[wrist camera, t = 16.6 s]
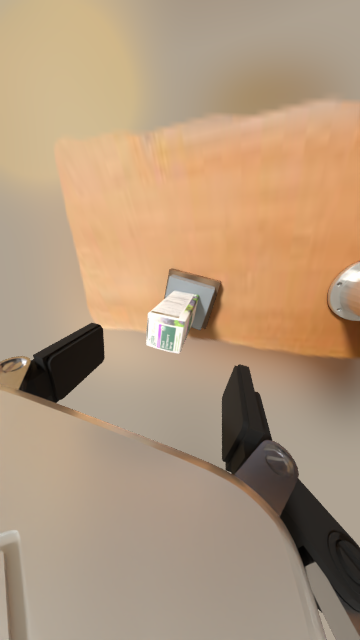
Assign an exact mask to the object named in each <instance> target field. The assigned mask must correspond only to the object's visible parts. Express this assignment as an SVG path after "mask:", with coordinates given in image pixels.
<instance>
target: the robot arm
mask: <svg viewBox="0 0 360 640" xmlns="http://www.w3.org/2000/svg"><path fill="white" fill-rule="evenodd" d="M328 304H329V307H330V308H331V310H332V311H333V312H334V313H335V314H337V315H338V316H340V317H342V318H344V319H347V320H351V321H360V261H359V262H356V263H354V264H352V265H351V266H349V267H347V268H346V269H345V270H343V271H342V272H341V273H340V274H339V275H338V276H337V277H336V278H335V280H334V281H333V283H332V284H331V286H330V288H329V291H328ZM33 357H34V359H33V360H30V358H28V357H25V356H18V357H12V358H8V359H5V360H3V361H1V362H0V640H327V639H326V636H325V632H324V629H323V626H322V622H321V619H320V616H319V612H318V609H319V610H320V611H321V612H322V613H323V615H324V617H325V619H326V621H327V623H328V624H329V627H330V629H331V631H332V633H333V635H334V637H335V639H336V640H360V547H359V546H358V545H357V544H356V542H355V541H354V540H353V539H352V538H351V537H350V536H349V535H348V533H347V532H346V531H345V530H344V529H343V528H342V527H341V526H340V525H339V523H338V522H337V521H336V520H335V519H334V518H333V517H332V516H331V515H330V513H328V511H327V510H326V509H325V508H324V507H323V506H322V504H321V503H320V502H319V501H318V500H317V499H316V498H315V497H314V496H313V494H312V493H311V492H310V491H309V490H308V489H307V488H306V487H305V486H304V484H303V483H301V481H300V480H299V479H298V476H299V473H298V468H297V466H296V463H295V461H294V459H293V458H292V456H291V455H290V454H289V453H288V451H287V450H286V449H285V448H284V447H282V446H281V445H280V444H278V443H276V442H274V441H272V438H271V434H270V431H269V427H268V423H267V419H266V416H265V412H264V408H263V404H262V400H261V397H260V394H259V393H258V392H255V391H254V387H253V383H252V378H251V374H250V370H249V367H247V366H243V365H238V366H235V367H234V369H233V372H232V374H231V377H230V379H229V381H228V384H227V386H226V389H225V391H224V394H223V397H222V460H223V461H224V462H226V470H227V471H229V472H232V474H230V473H229V472H227V471H225V470H223V469H221V468H219V467H217V466H215V465H213V464H211V463H209V462H206V461H204V460H202V459H199V458H197V457H194V456H192V455H189V454H187V453H184V452H182V451H179V450H177V449H175V448H172V447H169V446H167V445H164V444H162V443H159V442H156V441H154V440H151V439H149V438H146V437H144V436H141V435H139V434H136V433H133V432H131V431H128V430H125V429H123V428H120V427H118V426H115V425H112V424H110V423H107V422H104V421H102V420H99V419H97V418H94V417H91V416H88V415H86V414H83V413H81V412H78V411H76V410H73V409H70V408H67V407H65V406H62V405H59V404H57V402H58V401H59V400H61V399H63V398H64V397H65V396H66V395H68V393H70V392H71V391H72V390H73V389H74V388H75V387H76V386H77V385H78V384H79V383H80V382H82V381H83V380H84V378H86V377H87V376H88V375H89V374H90V373H91V372H92V371H93V370H94V369H96V368H97V367H98V366H99V365H100V364H101V363H102V362H103V360H104V339H103V328H102V327H101V325H99V324H95V323H91V324H89V325H87V326H85V327H83V328H81V329H80V330H78V331H76V332H74V333H72V334H70V335H69V336H67V337H65V338H63V339H61V340H60V341H58V342H56V343H54V344H52V345H50V346H49V347H47V348H45V349H43V350H41V351H40V352H38V353H36V354H34V355H33Z"/></svg>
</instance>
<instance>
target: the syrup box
mask: <svg viewBox="0 0 360 640" xmlns="http://www.w3.org/2000/svg"><path fill="white" fill-rule="evenodd" d="M198 298H199V295H196V294H190V293H185V292H179V291H173V292H172V293H171V294H170V295H169V296H167V297H166V298H165V299H164V300H163V301H162V302H161V303H159V304H158V305H157V306H156V307H155V308H154V309H153V310H151V311H150V312H149V313H148V323H147V335H146V336H147V338H146V345H148V346H151V347H154V348H157V349H160V350H165V351H169V352H173V353H180V352H181V350H182V347H183V345H184V342H185V340H186V338H187V335H188V333H189V330H190V328H191V325H192V323H193V320H194V317H195V313H196V308H197V303H198Z"/></svg>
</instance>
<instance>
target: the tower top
mask: <svg viewBox="0 0 360 640" xmlns="http://www.w3.org/2000/svg"><path fill="white" fill-rule="evenodd" d="M214 290H215V287H213V286H210V285H207V284H203V283H200V282H197V281H193V280H190V279H187V278H183V277H180V276H177V275H171V276H169V281H168V286H167V290H166V295H165V298H166V297H167V296H169V295H170V294H171V293H172V292H173V291H179V292H185V293H190V294H196V295H199V298H198V303H197V308H196V313H195V317H194V320H193V323H192V325H191V327H192V328H195V329H198V330H201V327H202V324H203V322H204V319H205V316H206V313H207V310H208V307H209V304H210V302H211V299H212V296H213V293H214Z"/></svg>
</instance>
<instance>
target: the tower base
mask: <svg viewBox="0 0 360 640" xmlns="http://www.w3.org/2000/svg"><path fill="white" fill-rule="evenodd" d="M171 275H177V276H180V277H183V278H187V279H190V280H193V281H197V282H200V283H203V284H207V285H210V286H213V287H215V290H214V293H213V296H212V299H211V302H210V304H209V307H208V310H207V313H206V316H205V319H204V322H203V324H202V327H201V328H204V329H206V326H207V323H208V320H209V317H210V314H211V311H212V308H213V305H214V302H215V299H216V296H217V293H218V290H219V287H220V284H221V281H218V280H214V279H211V278H207V277H203V276H199V275H195V274H191V273H188V272H184V271H180V270H176V269H169V275H168V281H169V276H171ZM168 281H167V286H168ZM167 286H166V290H167ZM165 295H166V292H165ZM164 299H165V297H164Z"/></svg>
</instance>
